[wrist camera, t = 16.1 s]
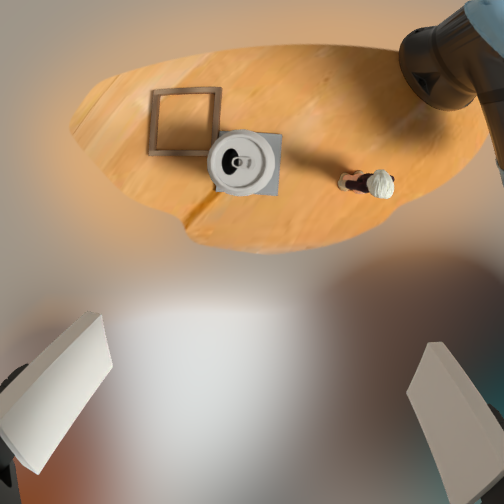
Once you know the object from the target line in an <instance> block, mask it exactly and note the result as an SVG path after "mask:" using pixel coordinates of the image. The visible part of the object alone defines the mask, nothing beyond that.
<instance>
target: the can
mask: <svg viewBox="0 0 504 504" xmlns="http://www.w3.org/2000/svg"><path fill="white" fill-rule="evenodd" d="M207 168H208V172H209V175H210V177H211V180H212V181H213V182H214V184H215V185H216V186H217V187H218V188H219V189H221V190H222V191H224V192H225V193H227V194H231V195H234V196H248V195H251V194H254V193H257V192H258V191H260V190H261V189H262V188H264V187H265V186H266V185H267V183H268V182H269V181H270V179H271V178H272V175H273V172H274V168H275V156H274V153H273V151H272V148H271V146H270V145H269V143H268V142H267V141H266V140H265V138H263V137H262V136H260V135H259V134H257V133H256V132H253V131H249V130H245V129H244V130H233V131H230V132H228V133H225V134H223V135H222V136H221V137H219V138H218V139H217V140H216V141H215V142H214V144H213V145H212V147H211V148H210V151H209V154H208V158H207Z"/></svg>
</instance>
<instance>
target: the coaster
mask: <svg viewBox="0 0 504 504" xmlns="http://www.w3.org/2000/svg"><path fill="white" fill-rule="evenodd" d="M228 132H230V131H220V132H219V137H221V136H222V135H223V134H225V133H228ZM257 134H259V135H260V136H262V137H263V138H265V140H266V141H267V142H268V143H269V145H270V146H271V148H272V151H273V153H274V156H275V168H274V172H273V175H272V178H271V179H270V181H269V182H268V183H267V185H266V186H265V187H264V188H262V189H261V190H260V191H258V192H257V193H254V194H260V195H272V196H278V184H279V171H280V158H281V144H282V135H281V134H268V133H257ZM216 192H224V191H222V190H221V189H219V188H218V187H217V186H216Z"/></svg>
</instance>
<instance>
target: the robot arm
mask: <svg viewBox="0 0 504 504" xmlns="http://www.w3.org/2000/svg"><path fill="white" fill-rule="evenodd" d="M399 61H400V66H401V69H402V72H403V74H404V77H405V79H406V80H407V82H408V84H409V85H410V87H411V88H412V89H413V91H414V92H415V93H416V94H417V95H418V96H419V97H420V98H421V99H422V100H423V101H425V102H426V103H427V104H429V105H430V106H432V107H434V108H436V109H439V110H443V111H455V110H459V109H462V108H465V107H466V106H468V105H469V104H470V103H471V102H472V101H473V99H474V98H475V97H476V96H478V99H479V101H480V104H481V108H482V111H483V113H484V116H485V120H486V123H487V126H488V129H489V133H490V136H491V139H492V143H493V147H494V151H495V155H496V164H497V167H498V168H499V171H500V175H501V179H502V183H503V186H504V0H471V1H468V2H467V3H465V5H464V6H463V7H462V8H460V9H459V10H457V11H456V12H455V13H453V14H452V15H451V16H449V17H448V18H447V19H446V20H444V21H443V22H442V23H440V24H439V25H438V26H431V27H424V28H419V29H416V30H414V31H412V32H411V33H410V34H408V35H407V36H406V37H405V38H404V39H403V41H402V43H401V45H400V49H399ZM112 367H113V364H112V361H111V356H110V352H109V348H108V343H107V339H106V334H105V329H104V324H103V319H102V314H98V313H94V312H89V311H87V312H85V313H84V314H83V315H82V316H81V317H80V318H79V319H78V320H76V321H75V322H74V323H73V324H72V325H71V326H70V327H69V328H68V329H67V330H65V331H64V332H63V333H62V334H61V335H60V336H59V337H58V338H57V339H56V340H55V341H53V342H52V343H51V344H50V345H49V346H48V347H47V348H46V349H45V350H44V351H43V352H42V353H41V354H40V355H39V356H38V357H36V358H35V359H34V360H33V361H32V362H31V363H30V364H25V365H23V366H21V367H19V368H17V369H16V370H15V371H14V372H12V373H11V374H10V375H9V377H8V379H5V380H4V381H3V383H2V384H1V386H0V504H21V499H20V494H19V488H18V482H17V476H16V468H15V464H14V462H13V460H12V459H13V458H14V456H16V457H17V459H18V460H19V461H20V462H21V463H22V465H23V466H25V467H27V468H28V469H30V470H31V471H33V472H34V473H36V474H38V475H39V473H40V472H41V470H42V469H43V467H44V466H45V464H46V462H47V461H48V459H49V458H50V456H51V455H52V453H53V452H54V450H55V449H56V447H57V446H58V444H59V443H60V441H61V440H62V438H63V437H64V435H65V434H66V432H67V431H68V429H69V428H70V426H71V425H72V424H73V422H74V421H75V419H76V418H77V416H78V415H79V413H80V412H81V411H82V409H83V408H84V406H85V405H86V403H87V402H88V401H89V399H90V398H91V396H92V395H93V394H94V392H95V391H96V389H97V388H98V387H99V385H100V384H101V382H102V381H103V379H104V378H105V377H106V375H107V374H108V373H109V371H110V370H111V369H112ZM406 393H407V395H408V397H409V400H410V402H411V404H412V406H413V409H414V411H415V413H416V415H417V418H418V420H419V422H420V425H421V427H422V430H423V432H424V434H425V437H426V439H427V442H428V444H429V446H430V449H431V452H432V454H433V457H434V459H435V462H436V465H437V467H438V470H439V473H440V475H441V478H442V481H443V484H444V487H445V490H446V493H447V496H448V498H449V502H450V504H474V503H475V502H476V501H477V500H479V499H480V498H481V501H482V503H481V504H504V419H503V417H502V416H501V414H500V413H499V411H498V410H496V409H495V408H494V407H493V406H492V405H491V404H486V402H485V401H484V399H483V398H482V397H481V395H480V393H479V392H478V390H477V389H476V387H475V386H474V385H473V383H472V382H471V381H470V379H469V377H468V376H467V375H466V373H465V372H464V370H463V369H462V368H461V366H460V365H459V363H458V362H457V361H456V359H455V358H454V357H453V355H452V354H451V353H450V351H449V350H448V349H447V348H446V346H445V345H444V344H443V343H442V342H430V343H428V344H427V347H426V349H425V352H424V354H423V356H422V359H421V361H420V364H419V366H418V368H417V371H416V373H415V375H414V377H413V379H412V382H411V384H410V386H409V388H408V390H407V392H406Z"/></svg>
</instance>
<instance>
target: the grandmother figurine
mask: <svg viewBox="0 0 504 504" xmlns="http://www.w3.org/2000/svg"><path fill="white" fill-rule="evenodd" d="M393 182H394V177H393V176H391V175H389V174H388V173H387V172H386V171H385V170H376V171H375V172H374V174H370V173H366V174H364V173H363V172H362V171H356V172H355V173H354V175H349V174H348V173H342V174H341V176H340V180H339V181H338V186H339V189H340V190H342V191H348V190H353V191H354V192H355V193H357V194H365V193H368V192H370V194H371V195H373V196H374V197H377V198H385V199H388V198H390V197H391V196H392V195H393V192H394V183H393Z"/></svg>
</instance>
